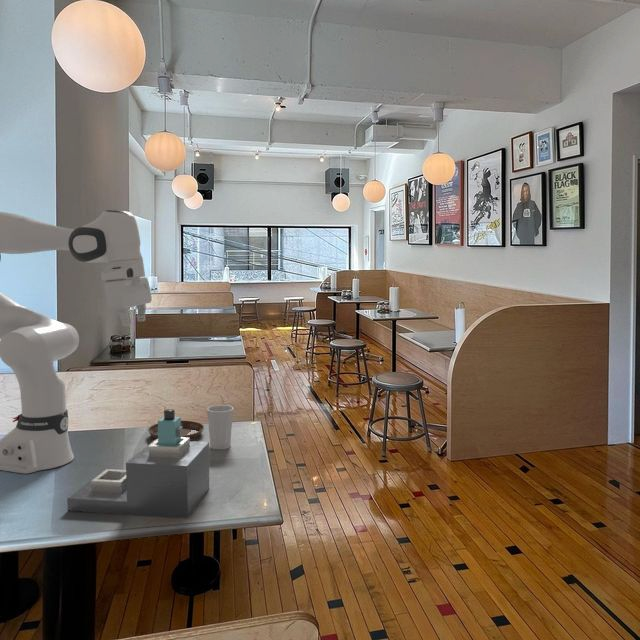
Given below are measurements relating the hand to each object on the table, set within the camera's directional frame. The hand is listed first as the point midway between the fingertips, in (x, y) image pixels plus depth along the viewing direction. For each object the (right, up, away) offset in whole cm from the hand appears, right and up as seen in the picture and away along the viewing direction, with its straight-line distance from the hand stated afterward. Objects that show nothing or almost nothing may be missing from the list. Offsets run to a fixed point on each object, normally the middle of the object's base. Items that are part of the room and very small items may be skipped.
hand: (134, 323), depth 141 cm
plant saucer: (+2, -38, +33) cm, 50 cm away
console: (+7, -42, -15) cm, 45 cm away
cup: (+19, -39, +23) cm, 49 cm away
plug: (+14, -30, -16) cm, 37 cm away
